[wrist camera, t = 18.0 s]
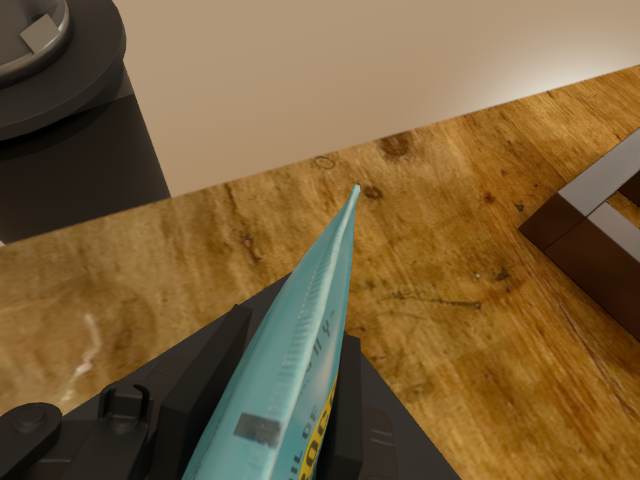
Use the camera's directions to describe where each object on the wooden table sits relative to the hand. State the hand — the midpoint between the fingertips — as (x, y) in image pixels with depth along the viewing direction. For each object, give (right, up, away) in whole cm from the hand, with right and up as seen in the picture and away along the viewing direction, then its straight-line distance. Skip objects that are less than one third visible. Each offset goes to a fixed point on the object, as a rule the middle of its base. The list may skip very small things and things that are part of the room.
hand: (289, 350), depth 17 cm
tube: (-2, -7, +5) cm, 9 cm away
